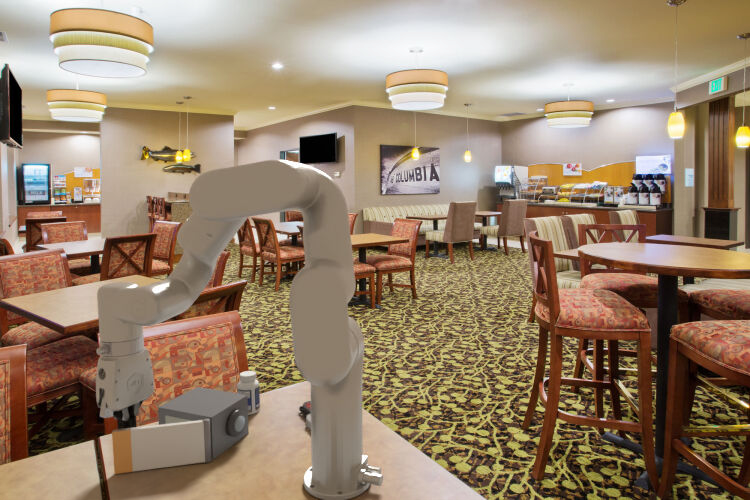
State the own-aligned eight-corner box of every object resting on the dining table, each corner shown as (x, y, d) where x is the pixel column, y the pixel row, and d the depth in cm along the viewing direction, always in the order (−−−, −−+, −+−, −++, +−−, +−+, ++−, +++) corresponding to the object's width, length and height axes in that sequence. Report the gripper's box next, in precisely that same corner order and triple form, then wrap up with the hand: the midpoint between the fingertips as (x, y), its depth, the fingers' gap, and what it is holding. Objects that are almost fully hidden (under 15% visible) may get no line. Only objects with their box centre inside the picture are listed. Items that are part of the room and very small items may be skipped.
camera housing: (254, 434, 110) (253, 396, 109) (219, 461, 99) (218, 418, 98) (198, 423, 116) (197, 386, 115) (159, 447, 104) (157, 407, 103)
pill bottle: (253, 404, 126) (252, 368, 125) (264, 411, 122) (262, 373, 121) (234, 410, 122) (232, 373, 121) (244, 417, 119) (243, 379, 117)
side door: (211, 458, 99) (210, 418, 99) (211, 462, 98) (209, 421, 97) (116, 471, 95) (113, 428, 94) (114, 474, 94) (111, 432, 93)
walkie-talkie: (291, 415, 121) (329, 449, 104) (290, 398, 120) (329, 429, 104) (323, 407, 125) (364, 438, 109) (322, 390, 125) (364, 419, 108)
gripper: (102, 360, 87) (108, 458, 89) (166, 338, 100) (170, 423, 102) (72, 355, 89) (79, 450, 91) (139, 334, 103) (143, 417, 105)
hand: (127, 436), depth 97 cm, fingers closed
